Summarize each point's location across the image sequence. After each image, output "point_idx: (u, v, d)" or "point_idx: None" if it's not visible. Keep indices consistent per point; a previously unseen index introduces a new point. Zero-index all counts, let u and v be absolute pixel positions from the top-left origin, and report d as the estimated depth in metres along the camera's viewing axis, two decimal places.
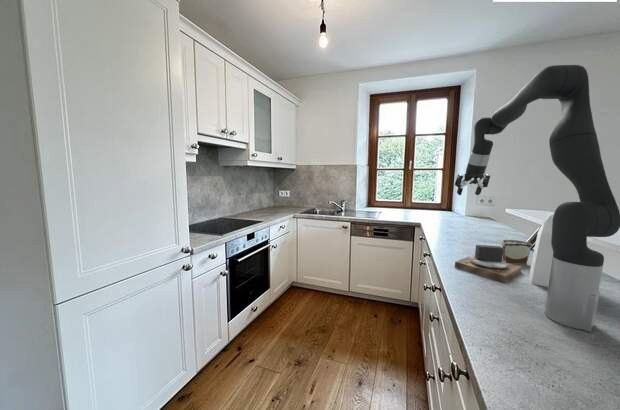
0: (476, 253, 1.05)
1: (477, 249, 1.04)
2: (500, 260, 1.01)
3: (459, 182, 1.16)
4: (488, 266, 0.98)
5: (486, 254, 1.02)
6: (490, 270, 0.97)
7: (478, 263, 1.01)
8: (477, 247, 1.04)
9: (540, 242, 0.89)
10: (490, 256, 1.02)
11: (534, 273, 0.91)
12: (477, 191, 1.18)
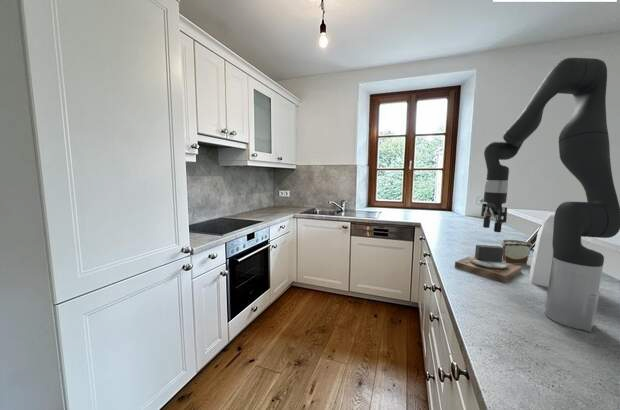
0: (476, 253, 1.05)
1: (477, 249, 1.04)
2: (500, 260, 1.01)
3: None
4: (488, 266, 0.98)
5: (486, 254, 1.02)
6: (490, 270, 0.97)
7: (478, 263, 1.01)
8: (477, 247, 1.04)
9: (540, 242, 0.89)
10: (490, 256, 1.02)
11: (534, 273, 0.91)
12: (487, 223, 1.06)
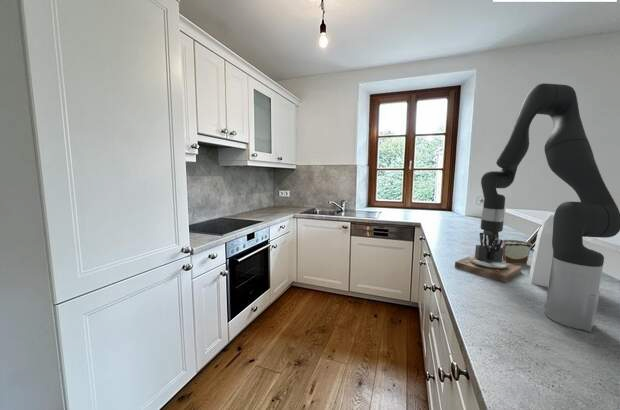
0: (476, 253, 1.05)
1: (477, 249, 1.04)
2: (500, 260, 1.01)
3: None
4: (488, 266, 0.98)
5: (486, 254, 1.02)
6: (490, 270, 0.97)
7: (478, 263, 1.01)
8: (477, 247, 1.04)
9: (540, 242, 0.89)
10: None
11: (534, 273, 0.91)
12: None
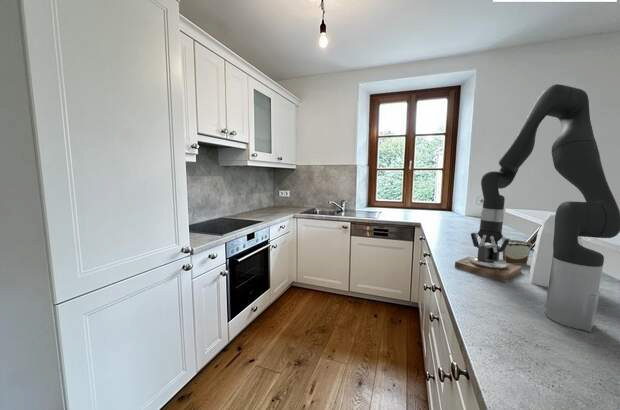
0: (480, 255, 1.02)
1: (482, 251, 1.01)
2: (498, 258, 1.03)
3: None
4: (498, 267, 0.97)
5: (489, 255, 1.01)
6: (490, 270, 0.97)
7: (488, 265, 0.98)
8: (481, 249, 1.01)
9: (540, 242, 0.89)
10: (492, 256, 1.02)
11: (534, 273, 0.91)
12: None
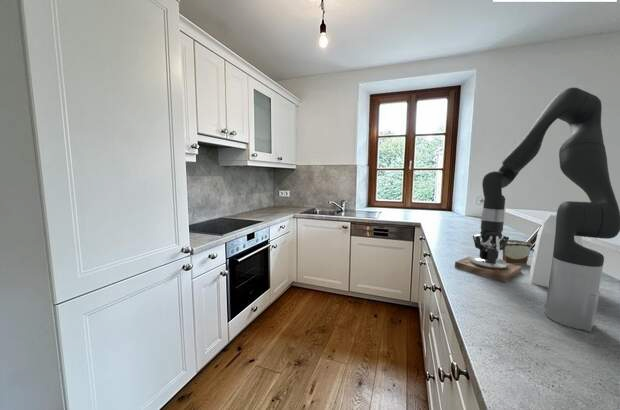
0: (490, 257, 0.99)
1: (492, 253, 0.99)
2: None
3: None
4: None
5: None
6: (490, 270, 0.97)
7: (502, 267, 0.97)
8: (492, 251, 0.99)
9: (540, 242, 0.89)
10: None
11: (534, 273, 0.91)
12: None
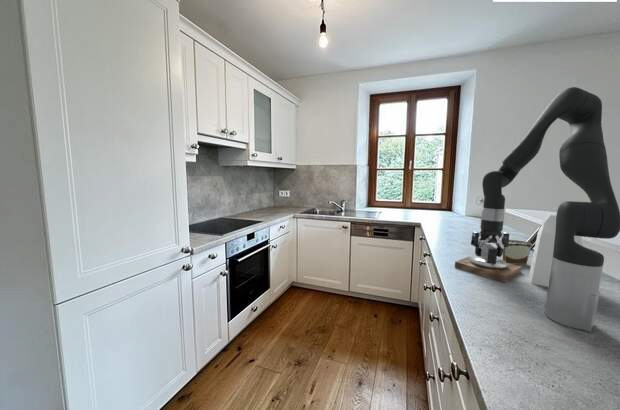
0: (491, 257, 0.99)
1: (493, 253, 0.99)
2: None
3: None
4: None
5: None
6: (490, 270, 0.97)
7: (503, 266, 0.97)
8: (492, 251, 0.99)
9: (540, 242, 0.89)
10: None
11: (534, 273, 0.91)
12: None
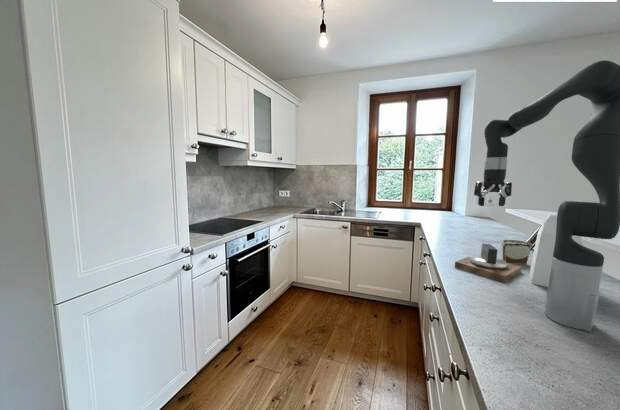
0: (491, 257, 0.99)
1: (493, 253, 0.99)
2: None
3: None
4: None
5: None
6: (490, 270, 0.97)
7: (503, 266, 0.97)
8: (492, 251, 0.99)
9: (540, 242, 0.89)
10: None
11: (534, 273, 0.91)
12: None
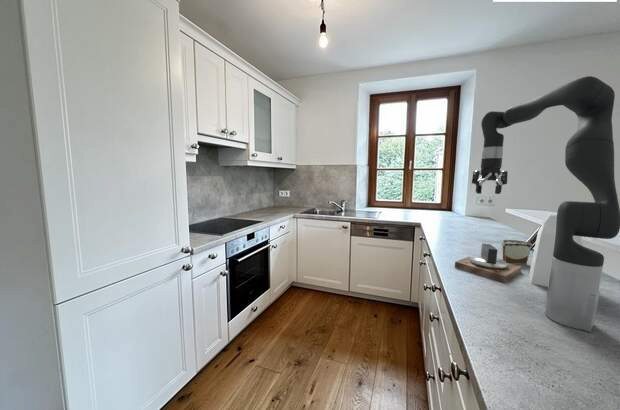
0: (491, 257, 0.99)
1: (493, 253, 0.99)
2: None
3: None
4: None
5: None
6: (490, 270, 0.97)
7: (503, 266, 0.97)
8: (492, 251, 0.99)
9: (540, 242, 0.89)
10: None
11: (534, 273, 0.91)
12: None
